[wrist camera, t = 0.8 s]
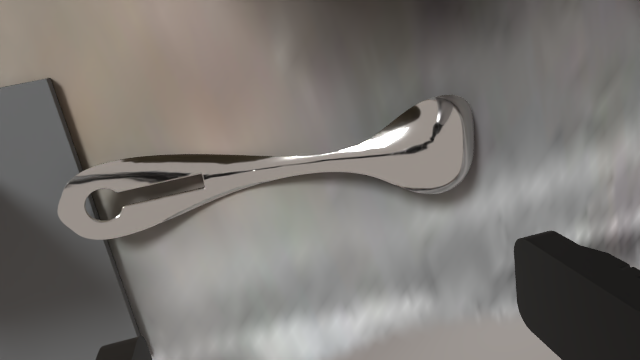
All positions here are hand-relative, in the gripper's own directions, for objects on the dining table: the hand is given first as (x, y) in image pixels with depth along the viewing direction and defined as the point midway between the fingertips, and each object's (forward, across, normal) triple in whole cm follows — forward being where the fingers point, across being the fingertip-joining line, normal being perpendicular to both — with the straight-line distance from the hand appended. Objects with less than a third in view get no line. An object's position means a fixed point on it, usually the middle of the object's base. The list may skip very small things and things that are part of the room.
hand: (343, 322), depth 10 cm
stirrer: (+14, 0, 0) cm, 15 cm away
